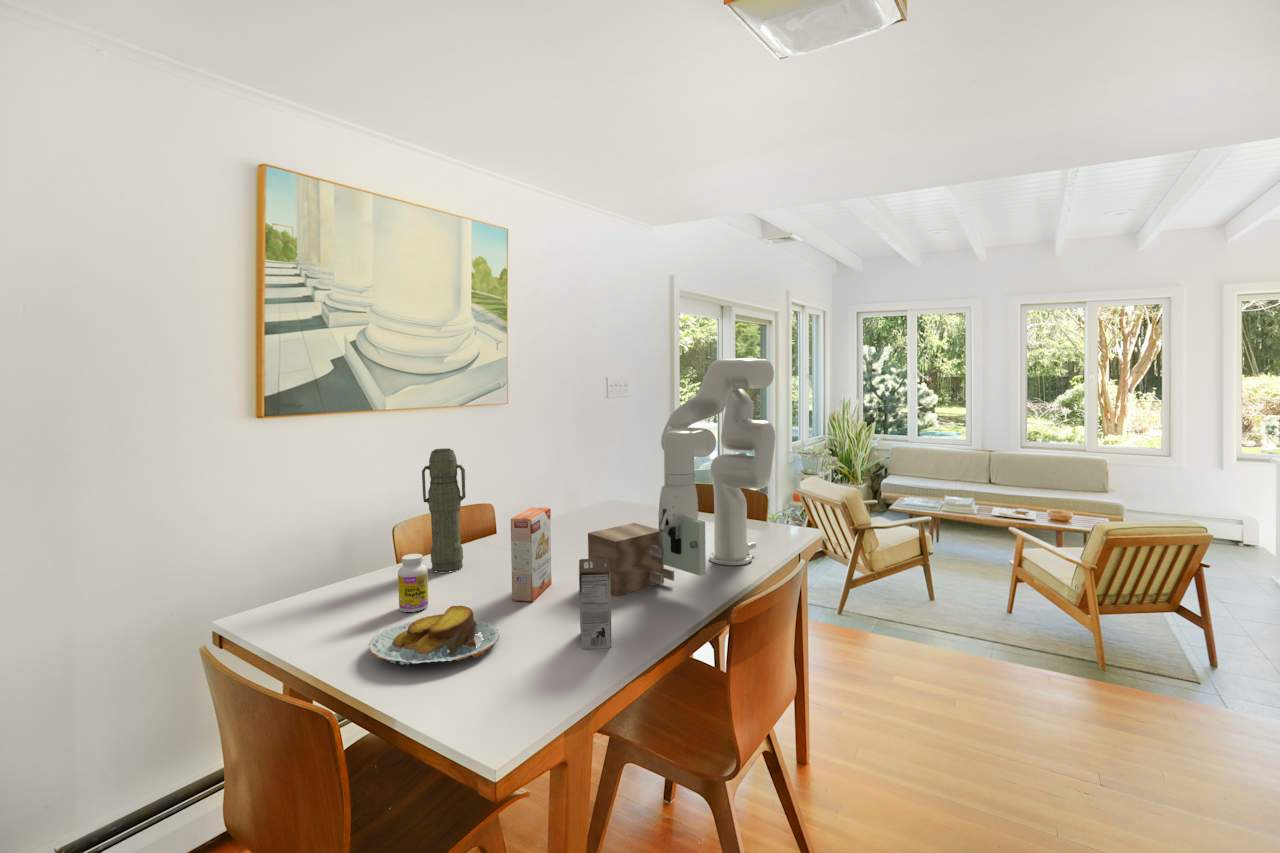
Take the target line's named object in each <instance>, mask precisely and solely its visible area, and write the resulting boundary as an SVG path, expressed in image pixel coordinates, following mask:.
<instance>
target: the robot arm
mask: <svg viewBox="0 0 1280 853" xmlns="http://www.w3.org/2000/svg"><path fill="white" fill-rule="evenodd" d="M774 377H775V370H774V367H773V364H772V363H771V362H770V361H769V360H767V359H766V358H747V357H743V358H740V357H739V358H720V359H716V360H714V361H712V363H710V365H709V367H708V369H707V371H706V373H705V375H704V377H703V380H702V382H701V384H700V386H699V388H698V391H697V393H696V394H695V396H693V397H691V398H690V399H688V400H687V401H685V402H684V403H682V405H680V406H679V407H678V408H676V409H675V410H674V411H673V412H672V414H671V415H670V416H669V417H668V420H667V422H666V424H665V426H664V429H663V431H662V434H661V440H660V445H661V449H662V450H663V459H664V460H663V469H664V470H663V476H664V477H663V480H664V482H663V483H664V484H663V485H662V486H661V489H660V494H659V495H660V496H659V504H658V524H659V523H660V524H661V527H660V530H661V531H664V532H666V533H667V534H668V536H669V537H671V552H672V553H675V554H681V538H679V526H681V525H682V523H683V519H686V518H691V519H696V520H699V519H698V518H699V500H698V492H697V487H696V484H695V478H696V473H695V458H706V457H708V456H710V455H711V454H712V453H713V452H714V451H715V448H716V445H717V439H716V436H715V434H714V433H713V431H711V430H710V429H707V428H705V427H704V428H703V427H691V425H693V424H695V423H698V422H701V421H703V420H707V419H710V418H712V417H715V416H716V415H719V414H721V413H722V412H723V411H724V416H723V421H722V429H721V436H720V442H721V445H722V447H723V448H724V449H725V450H728V451H732V452H747V453H754V455H749V454H748V455H747V454H736V453H735V454H730V453H725V454H720V455H717V456H715V458H713V459H712V461H711V463H710V476H711V481H712V486H713V487H712V488H713V499H714V500H713V501H714V502H713V504H714V505H713V506H714V507H713V508H714V510H713V512H714V516H713V518H714V519H713V520H714V521H713V522H714V530H713V531H714V551H713V552H711V553H710V554H709V556H708V558H709V560H710V561H711V562H713V563H715V564H717V565H723V566H742V565H743V566H744V565H747V564H750V563H751V562H752V560H753V556H752V554H750V553H749V551H750V550H753V549H756V548H757V544H756V542H754V541H753V542H747V541H748V540H747V539H748V538H747V537H748V534H747V532H748V529H747V527H748V526H747V525H748V524H747V519H748V517H747V515H748V514H747V511H748V510H747V508H748V505H747V499H746V497H745V494H744V492H743V491H742V489H753V490H761V489H765V488H766V487H767V486H768V485H769V483H770V481H771V474H772V469H773V468H772V467H773V462H774V461H773V460H774V454H775V443H776V431H775V428H774V426H773V424H772V423H771V422H770V421H767V420H764V419H763V420H762V419H753V418H754V410H755V405H754V402H753V400H752V399H751V397H750V395H749V394H748V393H747V392H746V390H745V389H751V390H752V389H754V390H755V389H756V390H757V389H766V388H768V387H770V385H771V384H772V383H773V381H774ZM741 488H742V489H741ZM673 528H674V530H673ZM749 562H750V563H749Z"/></svg>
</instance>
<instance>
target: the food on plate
mask: <svg viewBox="0 0 1280 853" xmlns="http://www.w3.org/2000/svg"><path fill="white" fill-rule="evenodd" d="M472 610H473V609H472V608H471V607H468V606H465V605H452V606H450V607H449V608H447V609H446V611H445V612H444V613H441V614H434V615H429V616H424V617H421V618H419V619H417V620H414V621H408V622H406V623H404V624H402V625H399V624H398V625H395V626H392V627H389V628H385V629H384V630H382V631H380V632H378V633H376V634H375V635H374V636H373V637H372V638H371V640H370V641H369V643H368V647H369V652H370V653H372V655H371V656H372V657H374V658H377V659H384V660H386V661H389V662H390V663H394V664H396V663H397V662H399V664H400V665H402V666H403V665H406V666H407V665H410V664H420V663H431V662H446V661H447V662H452V661H453V660H456V661H460V660H465V659H467V658H469V657H470V656H472V657H473V658H475V657H479V656H480V655H481V656H483V655H485V652H486V650H490V648H491V647H492V646H494V645H495V644H496V643H497V642H498V641H499V638H500V632H499V630H498V629H496V628H495V626H493V625H492V624H489V623H488V622H484V621H481V620H477V619H474V612H473V611H472ZM479 632H481V634H482V635H483V636H482V637H483V639H484V640H482V641H480V642H481V644H480V646H478V647H477V648H476V646H477V643H476V640H475V637H476V636H475V634H478V633H479ZM474 636H475V637H474Z"/></svg>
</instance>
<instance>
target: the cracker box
mask: <svg viewBox="0 0 1280 853" xmlns="http://www.w3.org/2000/svg"><path fill="white" fill-rule="evenodd" d="M551 510H552V509H551V508H550V507H530V508H528V509H525V510H524V511H522V512H521V513H519V514H517V515H515V516H513V517H511V518H510V555H511V557H510V559H511V561H510V563H511V600H512V601H515V602H528V603H529V602H531V603H533V602H535V600H536V599H537V598H538V597H539V596H541V595H542V594H543V592H545V591H546V590H547V589H548V588H549V587H550V586H551V585H552V531H551V530H552V529H551V528H552V527H551V525H552V524H551V523H552V522H551V521H552V520H551V518H552V517H551V516H552V515H551V512H552V511H551Z"/></svg>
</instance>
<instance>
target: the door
mask: <svg viewBox="0 0 1280 853" xmlns="http://www.w3.org/2000/svg"><path fill="white" fill-rule="evenodd" d="M660 527H661V524H660V523H659V522H658V529H659V547H661V548H662V558H659V563H660V564H664V566H668V567H670V568H673V569H675V570H680V571H683V572H686V573H690V574H693V575H696V576H704V575H706V572H707V570H706V569H707V568H706V563H707V562H706V559H707V558H706V557H707V556H706V521H705V520H699V519H698V520H696V519H691V518H686V519H683V523H682V525H681V526H679V538H681V554H675V553H672V552H671V537H669V536H668V534H667V533H666V532H664V531H661V530H660ZM673 530H674V528H673Z"/></svg>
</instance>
